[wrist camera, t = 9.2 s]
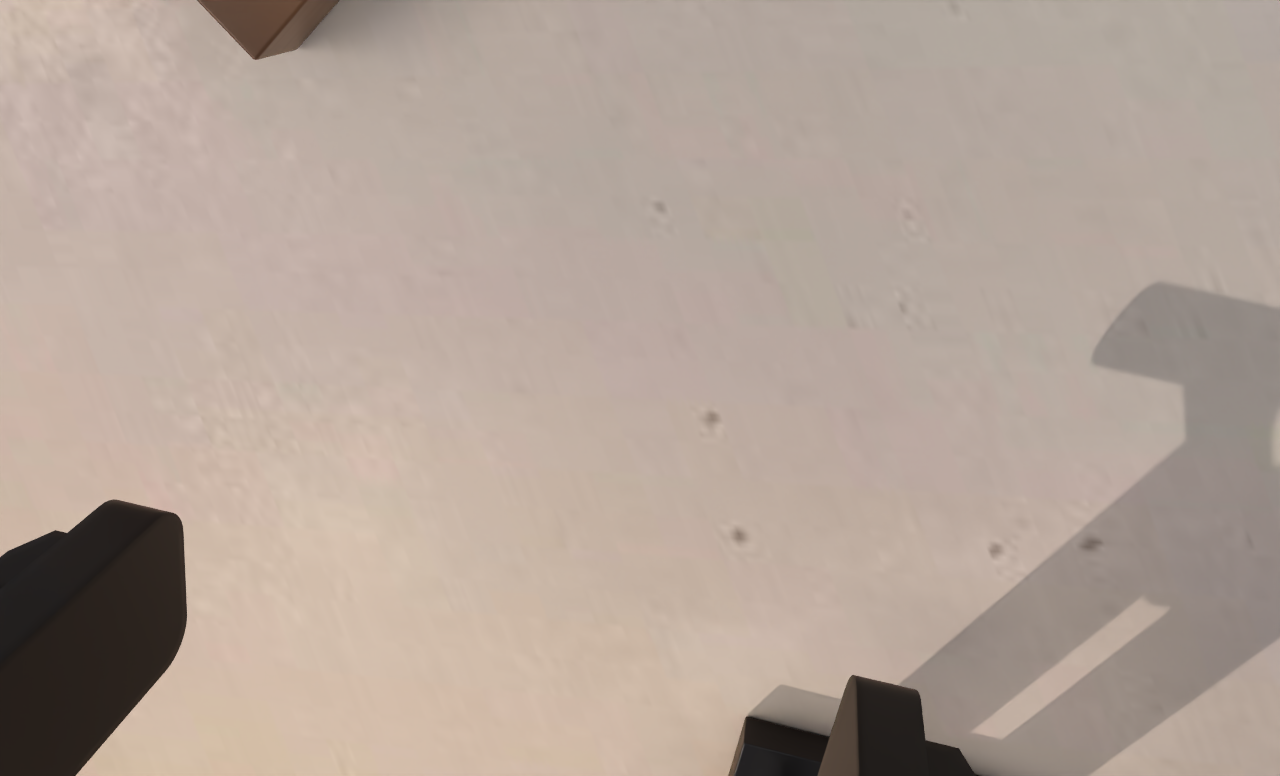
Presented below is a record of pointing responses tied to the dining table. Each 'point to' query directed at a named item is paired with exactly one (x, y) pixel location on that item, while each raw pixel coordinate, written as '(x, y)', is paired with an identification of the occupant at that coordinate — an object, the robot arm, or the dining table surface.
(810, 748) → the bracket
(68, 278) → the dining table surface
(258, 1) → the button block
